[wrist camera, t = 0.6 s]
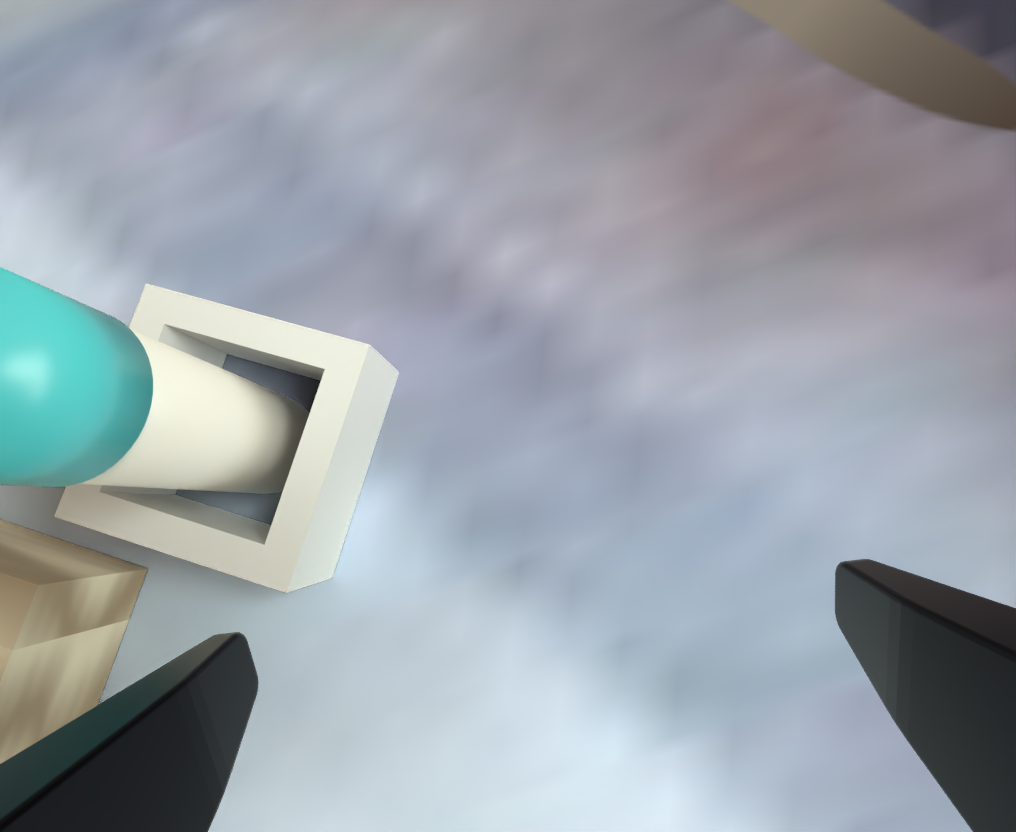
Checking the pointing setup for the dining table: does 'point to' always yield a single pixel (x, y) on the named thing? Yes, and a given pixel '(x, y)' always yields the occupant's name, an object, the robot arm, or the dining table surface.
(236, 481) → the plug
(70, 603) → the socket block
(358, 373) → the holster
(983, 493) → the dining table surface
